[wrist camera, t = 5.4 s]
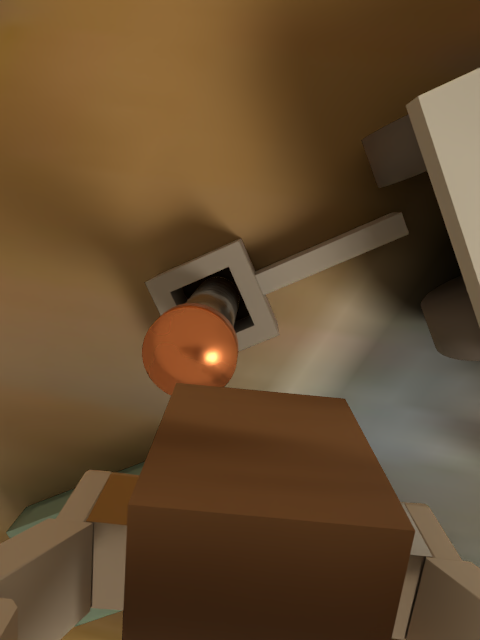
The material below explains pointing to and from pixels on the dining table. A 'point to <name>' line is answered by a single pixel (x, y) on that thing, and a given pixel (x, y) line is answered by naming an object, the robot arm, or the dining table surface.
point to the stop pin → (195, 339)
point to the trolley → (381, 224)
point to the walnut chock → (262, 524)
